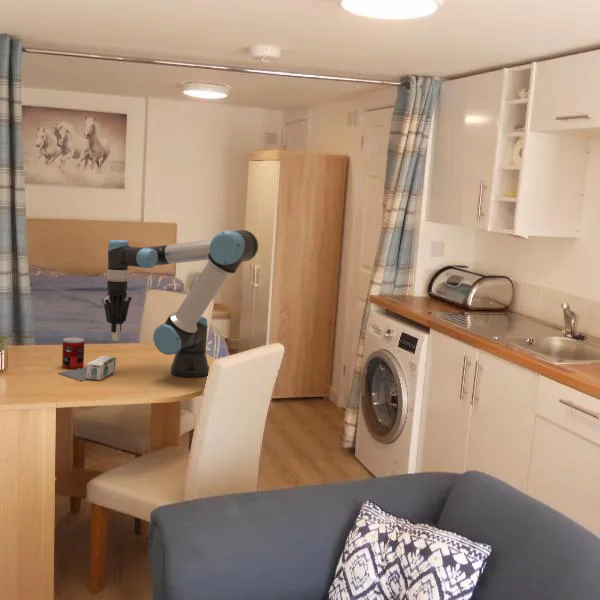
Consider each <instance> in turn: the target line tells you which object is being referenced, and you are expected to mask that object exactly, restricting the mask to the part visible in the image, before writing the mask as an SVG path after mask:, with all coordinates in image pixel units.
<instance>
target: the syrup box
mask: <svg viewBox="0 0 600 600" xmlns="http://www.w3.org/2000/svg"><path fill="white" fill-rule="evenodd" d="M116 358H117V357H114V356H108V355H101V356H99V357H97V358H95V359H94V360H91V361H89V362H87V363H86V365H85V366H86V367H85V368H86V378H88V379H92V380H99V381H100V380H102V379H104V378H106V377H105V376H107V375H109V374H110V373H112V374H113V373H114V372H116V360H117V359H116ZM107 377H108V376H107Z"/></svg>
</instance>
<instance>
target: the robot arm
mask: <svg viewBox="0 0 600 600" xmlns="http://www.w3.org/2000/svg"><path fill="white" fill-rule="evenodd" d="M258 250H259V242H258V238H257V237H256V235H254V233H252V232H251V231H248V230H245V229H244V230H243V229H240V230H239V229H238V230H231V229H229V230H224V231H221V232H218V233H217V234H215V235H214V236H213V237H212V239H207V240H199V241H190V242H182V243H172V244H165V245H154V246H144V247H142V246H139V247H138V246H130V245H129V241H128V240H124V239H110V240H109V241H108V249H107V279H108V280H107V281H106V282H107V285H106V289H107V291H108V292H107V294H106V297H105V298H102V300H101V303H102V304H103V307H104V311H105V318H106V319H105V320H106V322H107V323H109V324H110V325H111V326H110V327H111V328H110V329H111V330H110V332H111V340H112V341H114V342H118V341H121V340H120V339H121V332H122V325H123V324H124V323H125V322H126V321H127V316H128V312H129V307H130V303H131V300H132V297H130V296H129V295H128V294H127V291H128V281H127V280H128V279H129V278H128V275H129V273H128V272H129V269H128V268H129V267H135V268H140V269H141V268H142V269H154V267H156V266H166V265H171V264H173V265H174V264H179V263H180V264H181V263H193V262H200V261H208V262H207V263H206V264H205V266H204V268H203V269H202V271H201V273H200V274H199V276H198V277H197V279H196V281H195V282H194V284H193V285H192V287H191V288H190V290H189V292H188V293H187V295H186V296H185V298H184V300H183V301H182V303H181V304H180V306H179V307H178V308H177V311H173V312H171V313H170V314H169V315H168V317H167V318H166V320H165V322H164V323H163V324H160V325H158V326H157V327H155V329H154V332H153V334H152V335H153V342H154V346H155V348H156V349H157V351H159V352H160V353H161V354H163V355H167V356H171V355H172V356H173V355H174V357H173V360H172V364H171V365H170V374H172V375H174V376H178V377H183V378H201V377H206V376H208V375H209V374H208V371H209V372H210V366H209V365H208V364H209V362H208V359H207V355H206V354H207V353H206V351H207V336H208V328H209V327H208V319H207V318H206V317H205V316H203V314H204V313H205V311H206V310H207V309H208V307H209V305H210V303H212V301H213V299H214V298H215V296H216V294H217V293H218V291H219V290H220V288H221V286H222V285H223V283H224V282H225V280H226V279H227V277H228V276H229V275H234V274H235V273H236V271H237V270H238V269H239V267H240V266H241V263H243V262H248V261H251V260H252V259H254V258H255V256H256V255H257V254H258ZM207 374H208V375H207Z"/></svg>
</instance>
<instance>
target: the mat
mask: <svg viewBox="0 0 600 600" xmlns="http://www.w3.org/2000/svg"><path fill="white" fill-rule="evenodd" d="M58 373H59V374H58V375H60V374H62V375H61V376H63V375H65V376H64V377H66V376H68V377H67V378H69V377H71V378H70V379H72V378H74V379H73V380H75V379H77V380H76V381H78V380H80V381H79V382H84V381H83V380H86V381H90V380H89V379H88V378H86V367H82V368H80V369H69V370H66V371H65V370H64V371H59V372H58ZM111 375H112V376H114V375H115V374H114V373H113V372H112V373H110V374H109V375H107V377H111Z"/></svg>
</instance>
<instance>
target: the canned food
mask: <svg viewBox="0 0 600 600" xmlns="http://www.w3.org/2000/svg"><path fill="white" fill-rule="evenodd" d="M61 357H62V360H61V361H62V368H63V369H67V370H75V369H78V368H80V369H81V368H84V364H85V362H84V361H85V360H84V358H85V339H84V338H81V337H66V338H63V339H62V356H61Z"/></svg>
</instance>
